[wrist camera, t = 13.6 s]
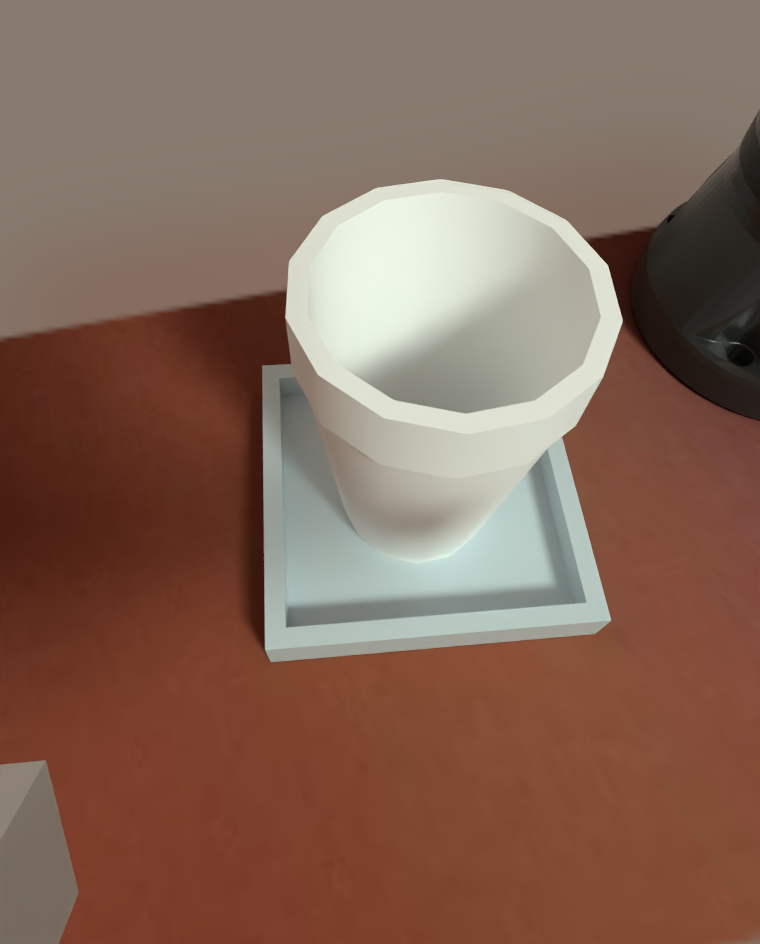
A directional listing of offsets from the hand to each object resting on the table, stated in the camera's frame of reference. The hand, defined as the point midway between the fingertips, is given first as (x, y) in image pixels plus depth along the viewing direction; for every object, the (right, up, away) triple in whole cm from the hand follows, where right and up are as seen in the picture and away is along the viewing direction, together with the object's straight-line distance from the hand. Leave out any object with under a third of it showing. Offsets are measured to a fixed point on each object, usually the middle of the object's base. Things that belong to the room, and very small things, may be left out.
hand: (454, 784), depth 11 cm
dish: (0, +4, +19) cm, 20 cm away
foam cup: (0, +4, +19) cm, 19 cm away
